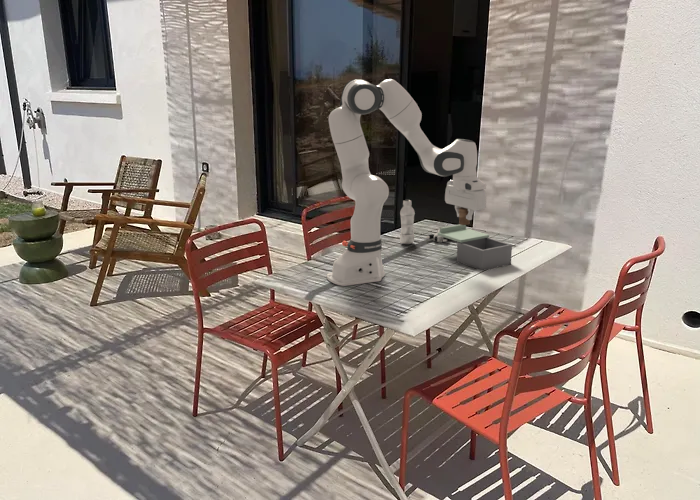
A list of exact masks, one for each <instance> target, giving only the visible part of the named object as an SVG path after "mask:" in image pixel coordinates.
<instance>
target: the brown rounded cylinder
mask: <svg viewBox="0 0 700 500" xmlns="http://www.w3.org/2000/svg"><path fill="white" fill-rule="evenodd" d="M468 212H469V211H468V208H464V207H461V208H459V217H458V225H459V224H460V225H466V226H468V225H470V221H471V220H467V219H466V215H468Z"/></svg>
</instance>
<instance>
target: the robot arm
mask: <svg viewBox="0 0 700 500" xmlns="http://www.w3.org/2000/svg"><path fill="white" fill-rule="evenodd" d="M376 110H377V111H378V110H380V111H381V112H382V113H383V114H384V116H385V117H386V118H387V119H388V121H389V122H390V123H391V125H393V127H395V129H397V130H398V131H399V132H400V134H402V135H403V136H404V137H405V138H406V140H407V141H408V142H409V144H410V145H411V147H412V148H413V149H414V151H415V152H416V153H417V156H418V159H419V162H420V163H419V164H420V166H421V167H422V170H424V172H426V173H429V174H433V175H437V176H440V177H449V176H452V179H450V180H448V181H447V183H446V187H445V190H444V191H445V193H444V201H445V203H446V204H448V205H453V206H454V210H455V212H456V217H457V218H459V208H463V207H464V208H468V211H469V212H468V215H466V219H467V220H470V221H472V220H473V215H474V213H475V211H476V212H481V211H484V210H485V209H486V208H487V193H486V189H487V183H485V182H484V181H482V180H481V179H480V178H479V177H478V173H477V165H478V150H477V145H476V142H475V141H473V140H470V139H464V138H456V139H455V140H454V141H453V142H451V144H449V145H447V146H445V147H444V148H440V147H438V146H436V145H434V144H433V143H432V142H431V141H430V140H429V138H428V137H427V135H426V134H425V133H424V131H423V130H422V128H421V126H420V123H421V121H422V116H423V115H422V114H423V113H422V111H421V110H420V107H419V106H418V103H417V102H416V101H415V100H414V98H413V97H412V96H411V94H410V93H409V92H408V90H406V89H405V87H404V86H402V85H401V84H400V83H399V82H397V80H395V79H392V78H389V79H384V80H383V81H381V82H380V83H378V84H377V85H376V84H373V83H370V82H369V81H368V80H365V79H359V78H356V79H355V78H354V79H351V80H349V81H348V82H347V83H346V84H345V85H344V87H343V89H342V91H341V97H340V103H339V107H336V108H335V109H332V111H330V114H329V115H328V126H329V131H330V135H331V139H332V143H333V144H334V148H335V151H336V153H337V157H338V161H339V163H340V164H339V165H340V169H341V176H342V182H341V187H342V188H341V189H342V190H343V193H344V194H345V195H346V196H347V197H348V198H349V199H351V200H353V201H354V202H355V203H354V204H355V205H354V211H353V215H352V216H351V218H350V240H349V241H346V240H342V242H341V245H342V246H343V247H345V248H346V247H347V248H346V249H345V251H344V252H343V253H342V254H341V255H340V256H338V257H337V259H335V260H334V262H333V264H332V271H331V272H329V273H327V274H326V280H327V281H329V282H331V284H332V283H333V285H334V284H335V285H338V286H343V287H344V286H346V287H347V286H353V285H354V286H355V285H361V284H362V285H363V284H369V283H375V282H380V281H382V278H384V277H385V275H386V272H385V268H384V265H383V260H382V259H383V258H382V249H383V245H382V243H383V242H382V238H381V217H382V213H383V212H382V211H383V208H384V207H383V206H384V203H386V201H387V200H388V197H389V194H390V189H389V186H388V184H387V183H386V182H385V181H384V179H382V178H381V177H379V176H377V175H373V174H372V173H371V171H370V168H369V167H370V166H369V157H370V151H369V148H368V144H367V140H366V138H365V135H364V132H363V128H362V125H361V116H362V115H367V114H371V113H373V112H375V111H376Z"/></svg>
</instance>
